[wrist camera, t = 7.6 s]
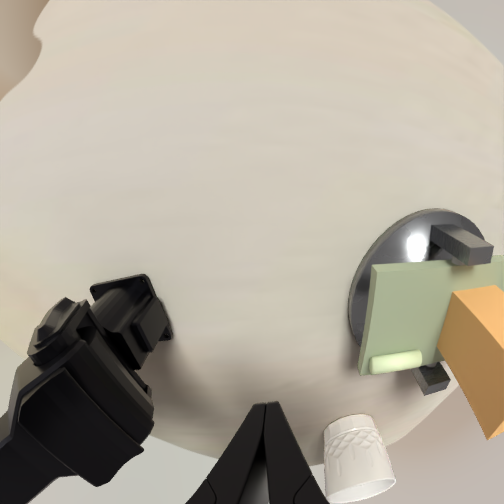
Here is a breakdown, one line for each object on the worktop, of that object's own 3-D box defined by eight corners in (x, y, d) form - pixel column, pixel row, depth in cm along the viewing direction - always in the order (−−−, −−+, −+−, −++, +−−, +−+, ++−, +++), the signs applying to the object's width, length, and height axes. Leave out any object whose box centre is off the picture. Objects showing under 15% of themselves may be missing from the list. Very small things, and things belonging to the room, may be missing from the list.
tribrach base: (340, 367, 24) (353, 418, 18) (352, 209, 19) (387, 236, 13) (461, 342, 23) (488, 378, 17) (492, 209, 18) (538, 229, 12)
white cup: (306, 437, 29) (311, 503, 19) (346, 405, 26) (362, 479, 17) (350, 445, 30) (360, 502, 20) (390, 415, 27) (409, 477, 18)
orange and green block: (356, 369, 20) (382, 489, 10) (372, 257, 17) (455, 383, 6) (481, 344, 18) (532, 422, 8) (510, 248, 15) (596, 313, 5)
